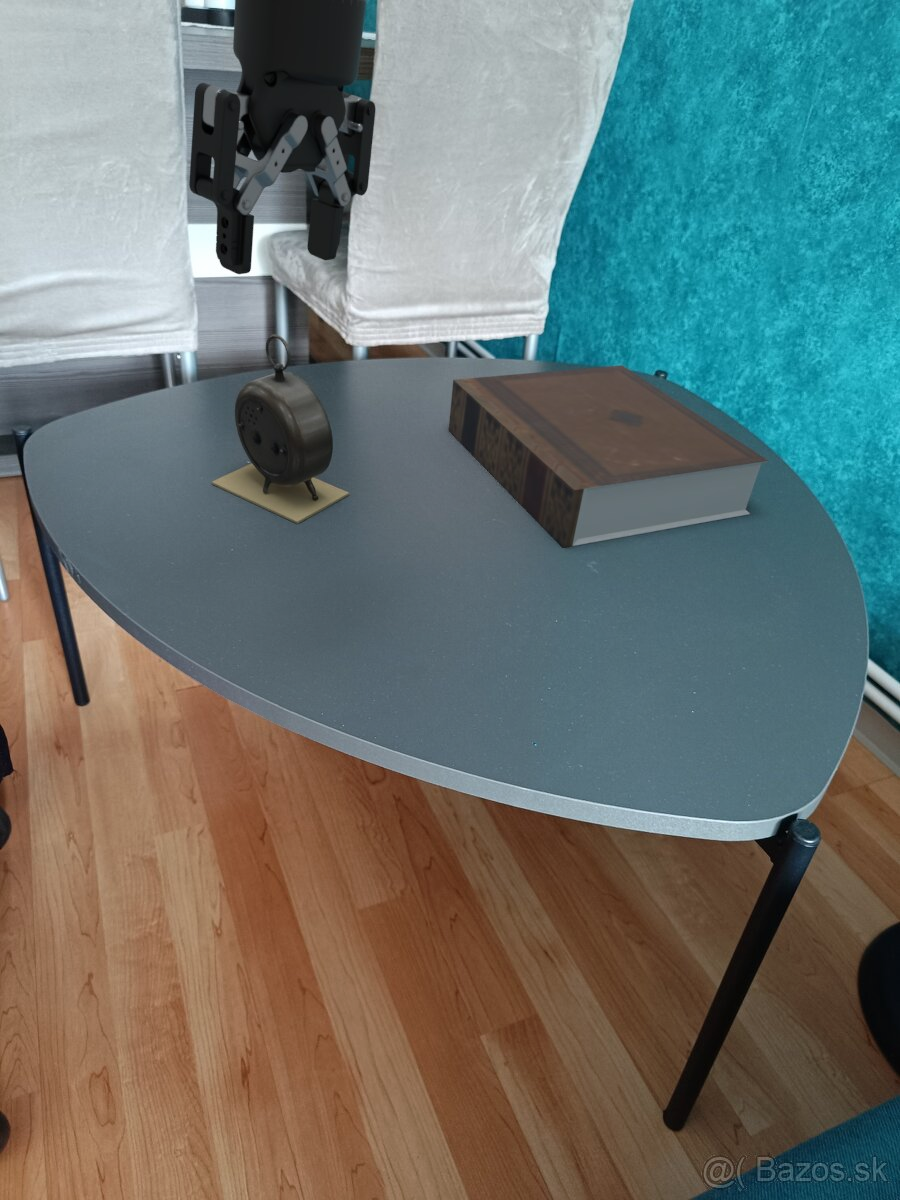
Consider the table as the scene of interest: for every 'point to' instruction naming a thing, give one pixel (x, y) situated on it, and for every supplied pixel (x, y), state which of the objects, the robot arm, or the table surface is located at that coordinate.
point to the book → (601, 452)
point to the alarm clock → (284, 427)
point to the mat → (280, 494)
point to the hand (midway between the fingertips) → (279, 263)
